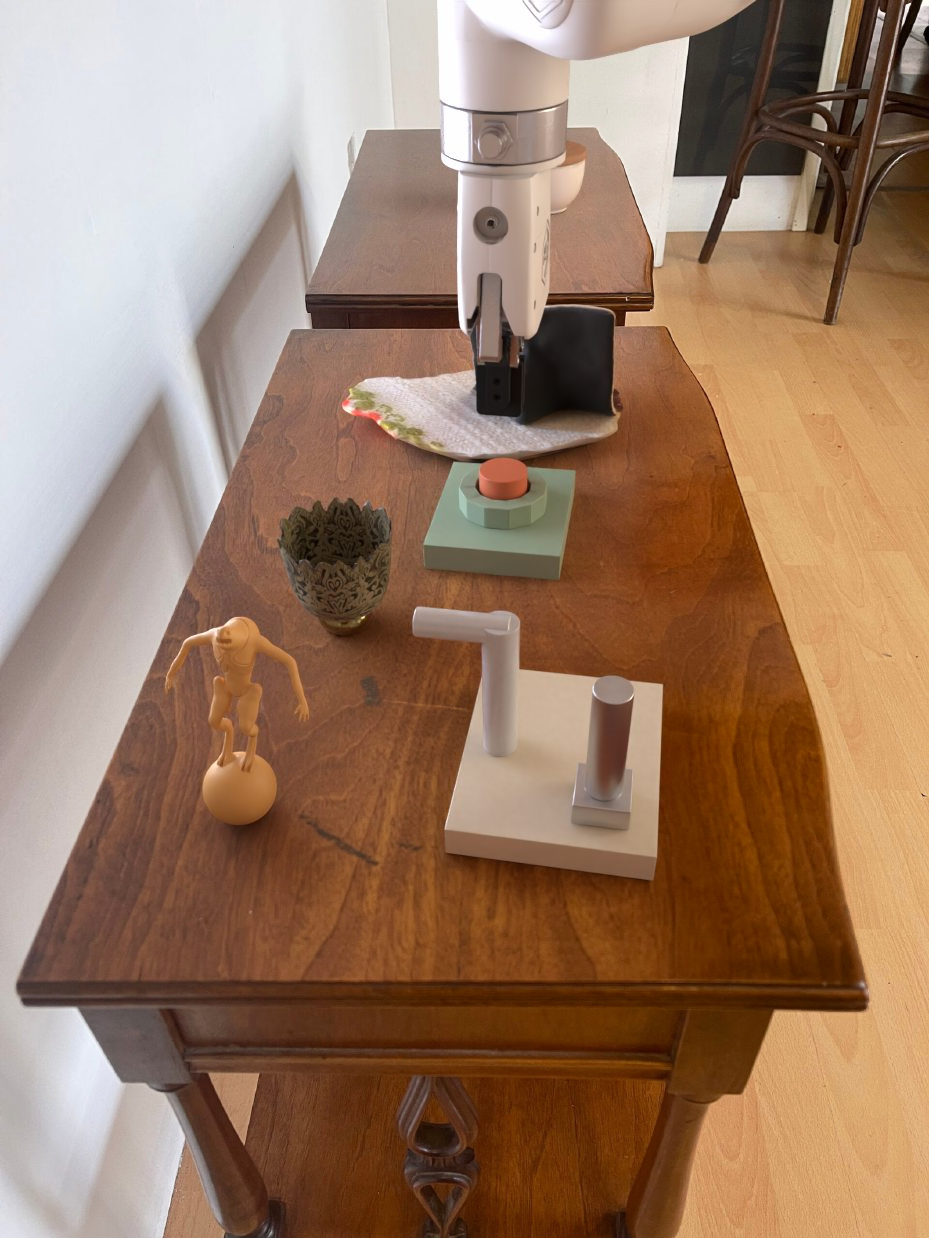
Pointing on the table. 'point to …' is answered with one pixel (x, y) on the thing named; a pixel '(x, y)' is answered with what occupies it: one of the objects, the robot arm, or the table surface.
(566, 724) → the tap base
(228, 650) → the figurine
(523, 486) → the button
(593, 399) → the religious ornament
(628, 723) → the tap lever
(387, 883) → the table surface
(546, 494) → the button block
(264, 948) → the table surface
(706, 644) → the table surface
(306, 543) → the cup
